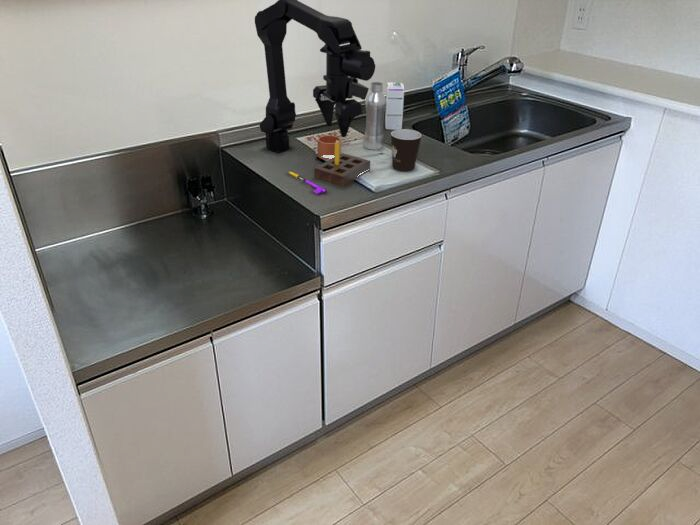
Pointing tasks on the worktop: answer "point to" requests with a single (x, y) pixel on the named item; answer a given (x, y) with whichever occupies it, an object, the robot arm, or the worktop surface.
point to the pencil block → (342, 170)
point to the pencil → (337, 152)
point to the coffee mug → (404, 149)
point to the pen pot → (327, 145)
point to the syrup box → (394, 105)
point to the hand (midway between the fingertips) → (336, 131)
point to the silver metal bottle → (374, 117)
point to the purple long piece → (311, 184)
